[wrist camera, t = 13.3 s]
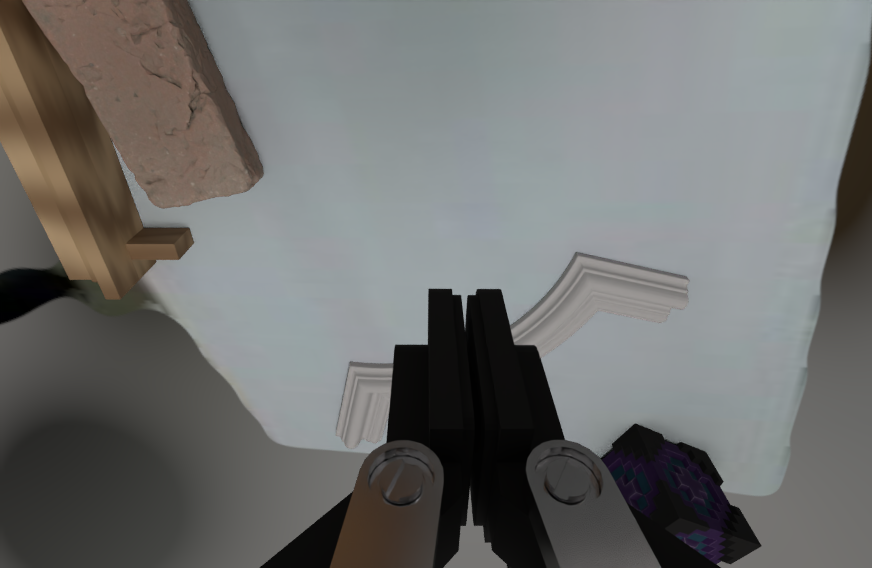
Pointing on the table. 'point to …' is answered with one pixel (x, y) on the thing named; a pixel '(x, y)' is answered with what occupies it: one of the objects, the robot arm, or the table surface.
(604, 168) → the table surface
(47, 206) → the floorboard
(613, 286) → the molding
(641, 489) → the energy cube
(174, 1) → the brick
